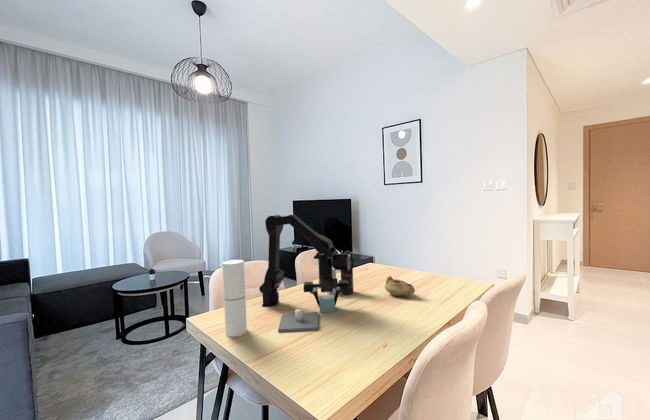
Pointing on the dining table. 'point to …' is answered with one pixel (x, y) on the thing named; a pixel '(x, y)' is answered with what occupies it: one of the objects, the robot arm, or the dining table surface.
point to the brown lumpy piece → (398, 287)
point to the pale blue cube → (327, 303)
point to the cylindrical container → (234, 298)
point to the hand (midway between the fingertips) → (326, 306)
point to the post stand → (298, 321)
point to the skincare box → (333, 278)
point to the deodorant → (348, 279)
